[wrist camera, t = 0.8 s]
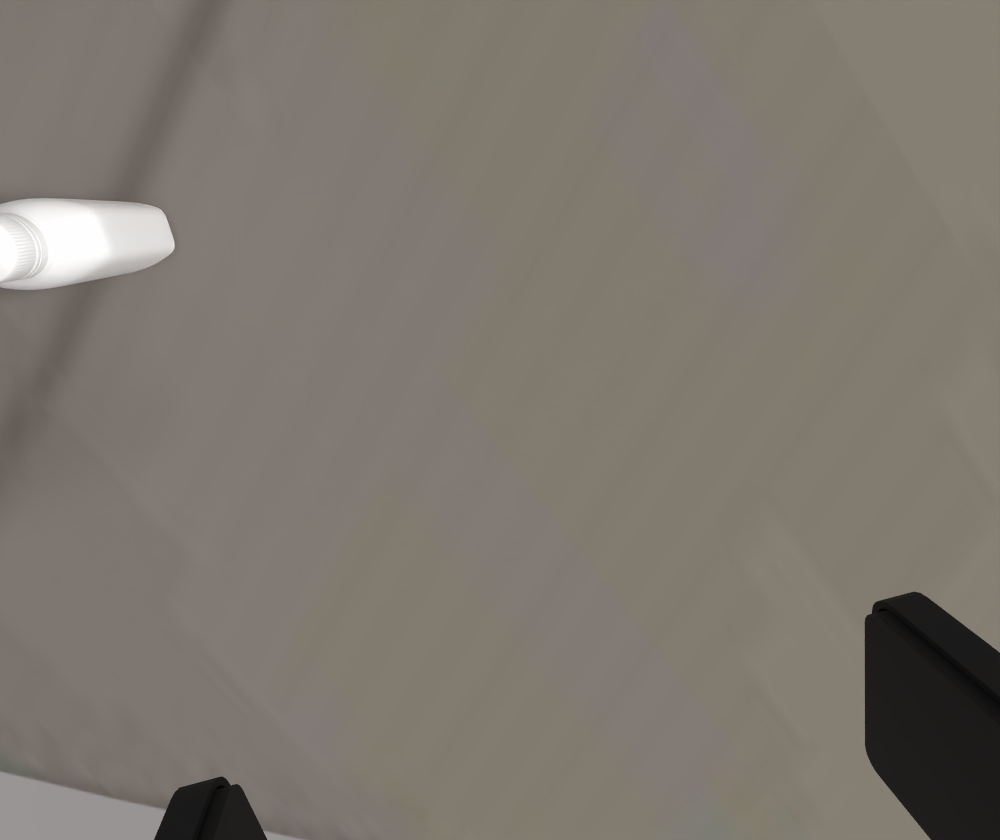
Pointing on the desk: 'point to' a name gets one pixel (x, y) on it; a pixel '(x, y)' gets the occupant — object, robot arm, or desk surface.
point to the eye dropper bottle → (78, 241)
